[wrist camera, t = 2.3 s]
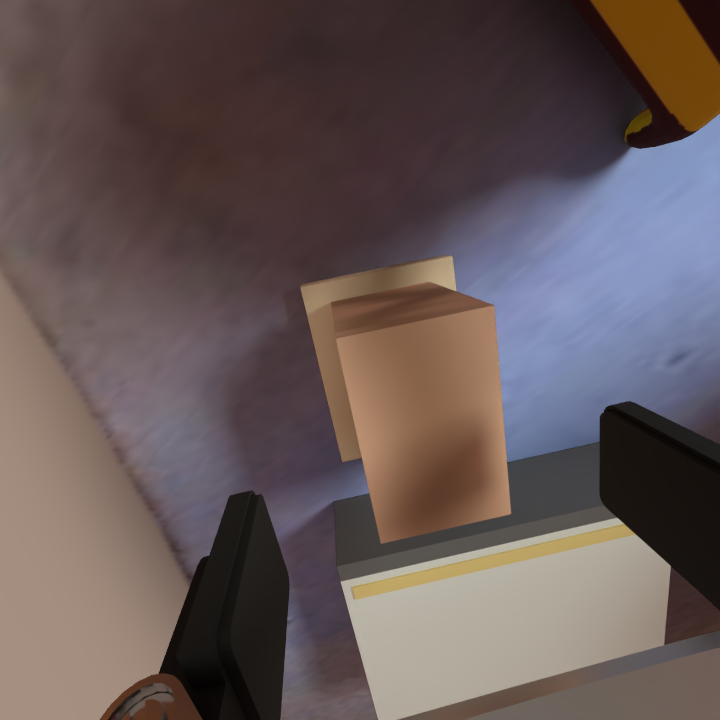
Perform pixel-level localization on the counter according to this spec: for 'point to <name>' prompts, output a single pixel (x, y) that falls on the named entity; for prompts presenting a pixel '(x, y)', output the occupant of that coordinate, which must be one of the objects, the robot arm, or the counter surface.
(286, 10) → the counter surface
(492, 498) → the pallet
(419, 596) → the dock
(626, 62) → the decorative lantern
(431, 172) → the counter surface
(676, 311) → the counter surface
